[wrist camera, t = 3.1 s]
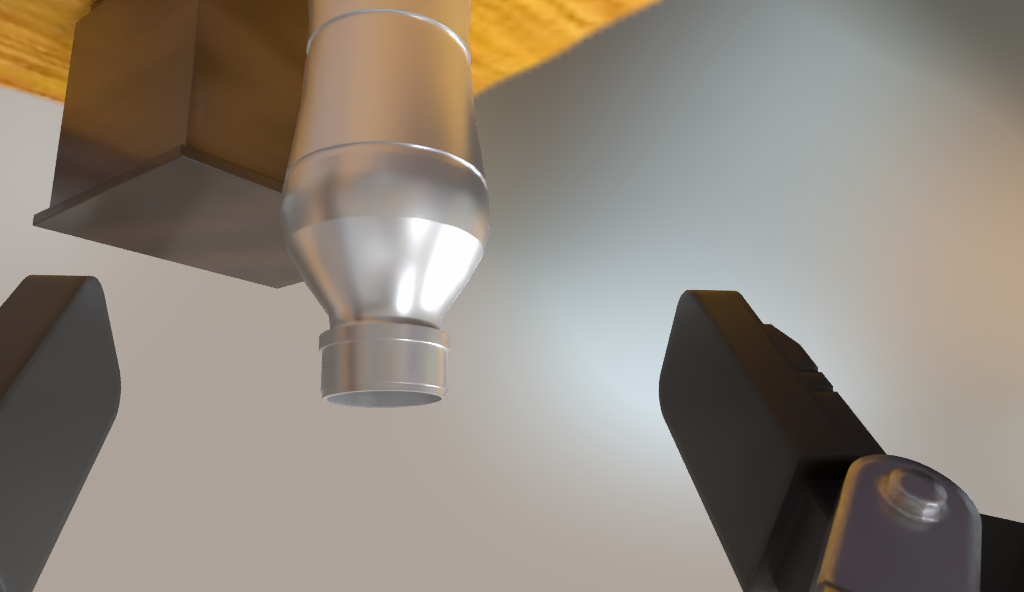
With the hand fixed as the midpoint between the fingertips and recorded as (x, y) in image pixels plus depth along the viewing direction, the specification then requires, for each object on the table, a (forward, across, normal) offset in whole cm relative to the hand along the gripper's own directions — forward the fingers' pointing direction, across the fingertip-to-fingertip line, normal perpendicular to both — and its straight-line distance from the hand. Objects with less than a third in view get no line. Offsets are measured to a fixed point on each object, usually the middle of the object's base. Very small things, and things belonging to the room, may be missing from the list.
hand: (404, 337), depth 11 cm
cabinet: (+31, +7, +3) cm, 32 cm away
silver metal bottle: (+23, 0, -6) cm, 24 cm away
